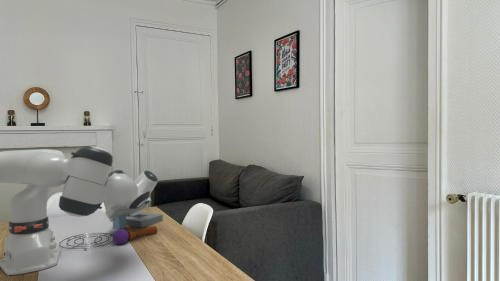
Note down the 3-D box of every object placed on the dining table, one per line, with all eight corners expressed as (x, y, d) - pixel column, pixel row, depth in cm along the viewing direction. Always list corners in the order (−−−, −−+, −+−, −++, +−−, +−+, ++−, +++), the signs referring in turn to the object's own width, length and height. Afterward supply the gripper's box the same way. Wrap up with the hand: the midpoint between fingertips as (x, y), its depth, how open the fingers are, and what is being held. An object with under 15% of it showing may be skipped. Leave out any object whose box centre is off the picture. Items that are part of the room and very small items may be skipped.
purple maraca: (160, 225, 151) (119, 233, 135) (158, 238, 151) (117, 248, 135) (151, 221, 154) (111, 228, 138) (149, 233, 155) (108, 242, 139)
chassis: (162, 220, 174) (162, 214, 174) (141, 227, 162) (141, 221, 162) (137, 216, 183) (137, 211, 183) (115, 223, 170) (115, 217, 170)
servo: (128, 228, 162) (128, 209, 161) (121, 230, 158) (121, 211, 158) (117, 226, 165) (117, 207, 165) (110, 228, 162) (110, 209, 161)
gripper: (118, 208, 146) (104, 228, 151) (153, 200, 164) (139, 218, 169) (111, 197, 149) (97, 217, 154) (146, 190, 166) (133, 208, 171)
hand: (119, 217), depth 162 cm, fingers open, 8 cm apart
